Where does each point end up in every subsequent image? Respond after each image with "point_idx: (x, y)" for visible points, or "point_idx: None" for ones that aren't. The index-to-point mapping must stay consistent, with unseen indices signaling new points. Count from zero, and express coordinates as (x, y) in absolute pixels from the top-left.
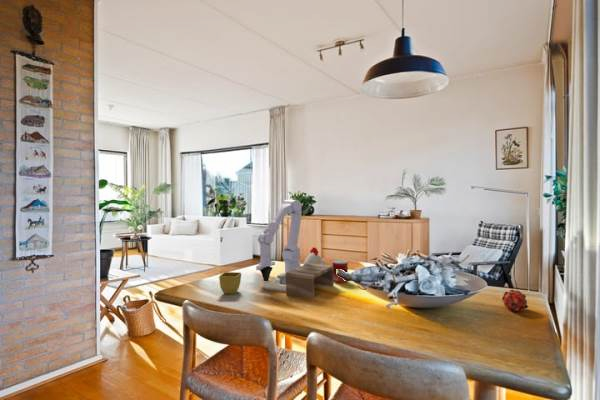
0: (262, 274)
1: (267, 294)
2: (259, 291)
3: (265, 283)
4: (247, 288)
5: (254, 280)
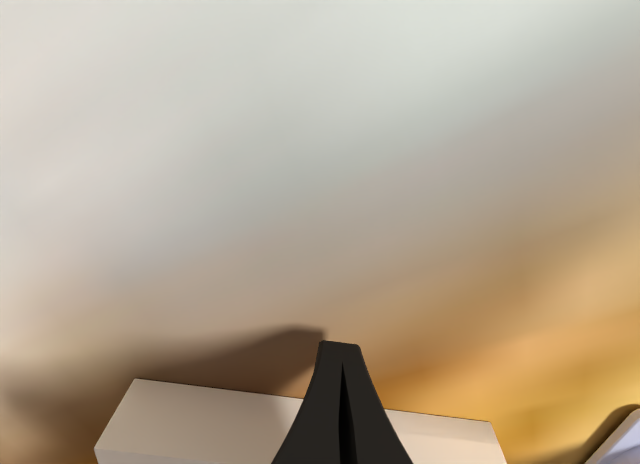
0: (286, 439)
1: (14, 450)
2: (26, 377)
3: (102, 457)
4: (4, 212)
5: (489, 79)
